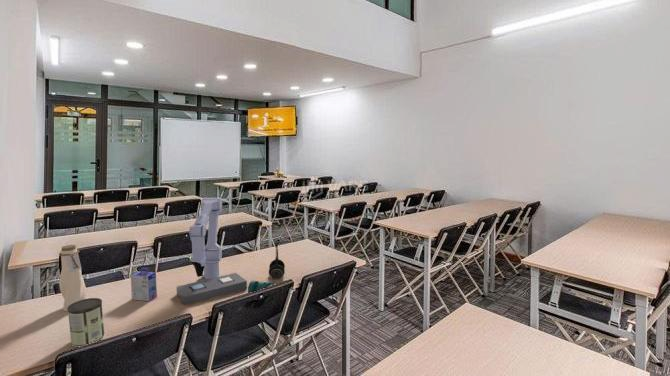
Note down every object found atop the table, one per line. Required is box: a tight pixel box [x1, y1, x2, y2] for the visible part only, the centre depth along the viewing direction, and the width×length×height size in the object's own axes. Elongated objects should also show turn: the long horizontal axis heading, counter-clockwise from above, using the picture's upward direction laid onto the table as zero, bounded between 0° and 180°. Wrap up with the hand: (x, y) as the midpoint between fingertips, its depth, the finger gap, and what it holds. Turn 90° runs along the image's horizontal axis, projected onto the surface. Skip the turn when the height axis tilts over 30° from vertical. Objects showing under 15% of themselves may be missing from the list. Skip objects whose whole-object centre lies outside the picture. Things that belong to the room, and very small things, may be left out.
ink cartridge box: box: [130, 266, 158, 302], centre depth 160 cm, size 10×6×14 cm, turn 79°
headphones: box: [268, 240, 286, 280], centre depth 188 cm, size 9×15×20 cm, turn 8°
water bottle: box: [58, 244, 87, 312], centre depth 149 cm, size 10×9×28 cm
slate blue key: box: [191, 283, 205, 291], centre depth 164 cm, size 5×5×3 cm
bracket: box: [247, 279, 277, 294], centre depth 168 cm, size 18×7×8 cm, turn 162°
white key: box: [220, 277, 233, 284], centre depth 173 cm, size 5×5×3 cm
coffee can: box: [67, 297, 106, 348], centre depth 125 cm, size 10×10×14 cm
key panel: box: [176, 272, 248, 306], centre depth 168 cm, size 14×30×4 cm, turn 129°
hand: (199, 276), depth 166 cm, fingers closed
